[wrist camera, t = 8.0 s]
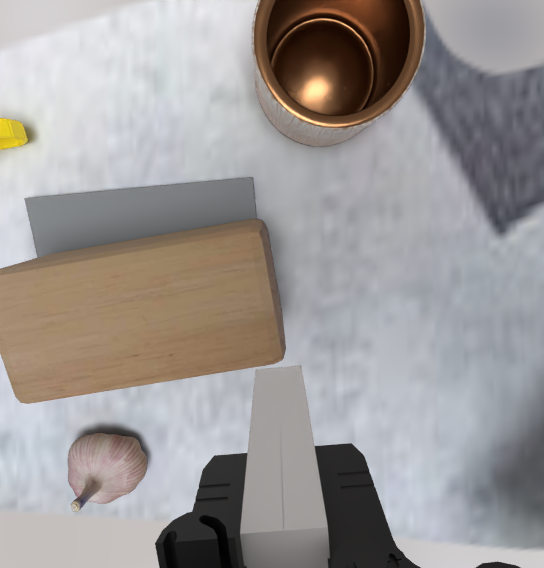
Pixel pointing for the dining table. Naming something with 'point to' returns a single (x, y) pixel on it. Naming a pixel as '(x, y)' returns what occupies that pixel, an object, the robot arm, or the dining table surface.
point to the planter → (334, 63)
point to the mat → (135, 213)
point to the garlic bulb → (104, 468)
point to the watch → (11, 133)
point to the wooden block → (141, 312)
